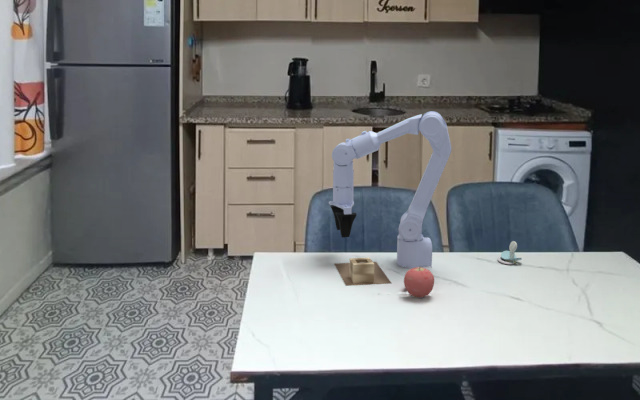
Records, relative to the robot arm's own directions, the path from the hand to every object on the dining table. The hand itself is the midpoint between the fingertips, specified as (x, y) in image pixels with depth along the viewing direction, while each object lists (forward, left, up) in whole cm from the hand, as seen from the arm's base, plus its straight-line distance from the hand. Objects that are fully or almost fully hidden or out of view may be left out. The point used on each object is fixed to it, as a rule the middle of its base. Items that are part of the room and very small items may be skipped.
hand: (342, 233), depth 191 cm
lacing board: (-3, +12, -9) cm, 16 cm away
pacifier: (-48, +4, -10) cm, 49 cm away
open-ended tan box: (-2, +17, -8) cm, 19 cm away
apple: (-14, +27, -10) cm, 32 cm away
